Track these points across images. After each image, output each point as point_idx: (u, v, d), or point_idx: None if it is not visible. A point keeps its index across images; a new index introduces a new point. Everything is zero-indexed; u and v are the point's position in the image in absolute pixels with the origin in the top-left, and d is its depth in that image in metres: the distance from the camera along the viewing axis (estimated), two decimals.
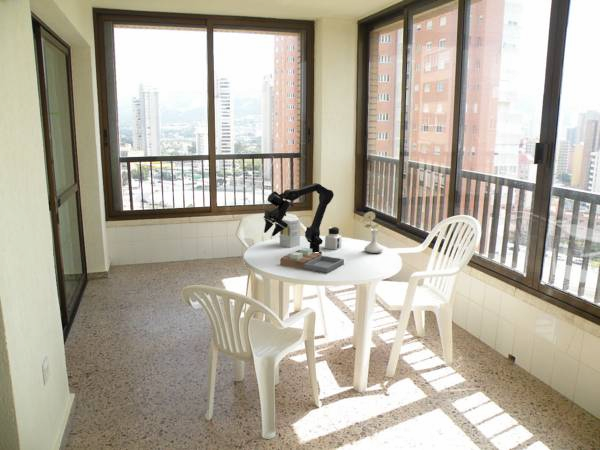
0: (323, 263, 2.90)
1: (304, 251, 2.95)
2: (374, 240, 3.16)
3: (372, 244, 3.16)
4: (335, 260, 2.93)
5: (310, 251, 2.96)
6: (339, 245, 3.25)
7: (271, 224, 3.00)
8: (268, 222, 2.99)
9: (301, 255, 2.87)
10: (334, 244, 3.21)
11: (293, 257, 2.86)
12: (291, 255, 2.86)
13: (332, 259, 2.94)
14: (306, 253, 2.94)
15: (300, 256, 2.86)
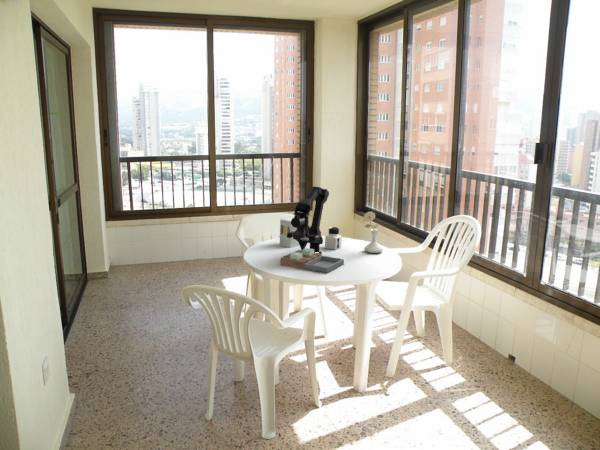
0: (323, 263, 2.90)
1: (306, 251, 2.94)
2: (374, 240, 3.16)
3: (372, 244, 3.16)
4: (335, 260, 2.93)
5: (312, 251, 2.95)
6: (339, 245, 3.25)
7: None
8: (301, 240, 2.97)
9: (301, 255, 2.87)
10: (334, 244, 3.21)
11: (293, 257, 2.86)
12: (291, 255, 2.86)
13: (332, 259, 2.94)
14: (308, 253, 2.94)
15: (300, 256, 2.86)
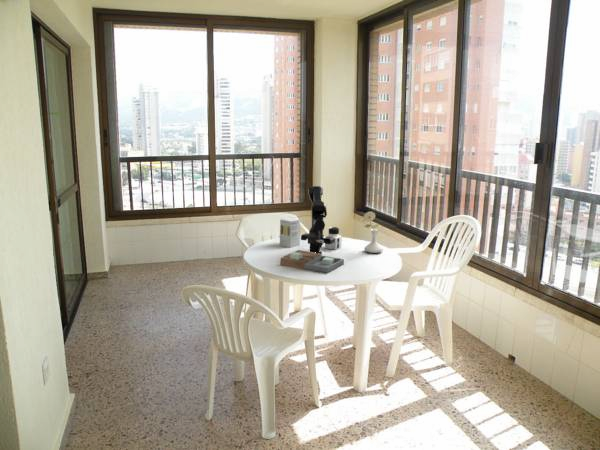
0: None
1: (325, 262, 2.89)
2: (374, 240, 3.16)
3: (372, 244, 3.16)
4: (335, 260, 2.93)
5: None
6: (339, 245, 3.25)
7: (317, 242, 2.94)
8: (315, 243, 2.92)
9: (301, 255, 2.87)
10: (334, 244, 3.21)
11: (293, 257, 2.86)
12: (291, 255, 2.86)
13: None
14: (323, 260, 2.90)
15: (300, 256, 2.86)
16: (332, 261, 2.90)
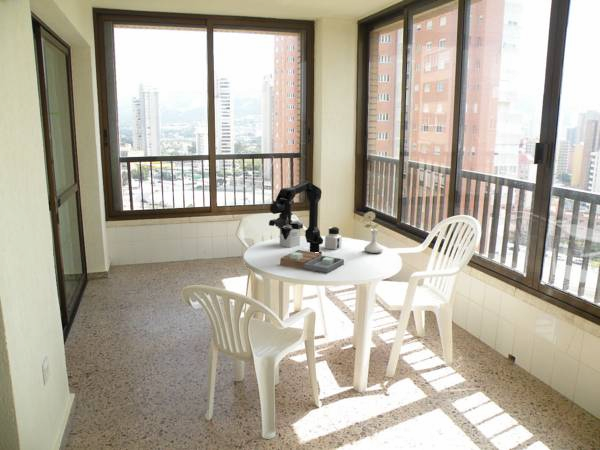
0: None
1: (325, 262, 2.89)
2: (374, 240, 3.16)
3: (372, 244, 3.16)
4: (335, 260, 2.93)
5: None
6: (339, 245, 3.25)
7: (286, 228, 2.90)
8: (284, 228, 2.88)
9: (301, 255, 2.87)
10: (334, 244, 3.21)
11: (293, 257, 2.86)
12: (291, 255, 2.86)
13: None
14: (323, 260, 2.90)
15: (300, 256, 2.86)
16: (332, 261, 2.90)
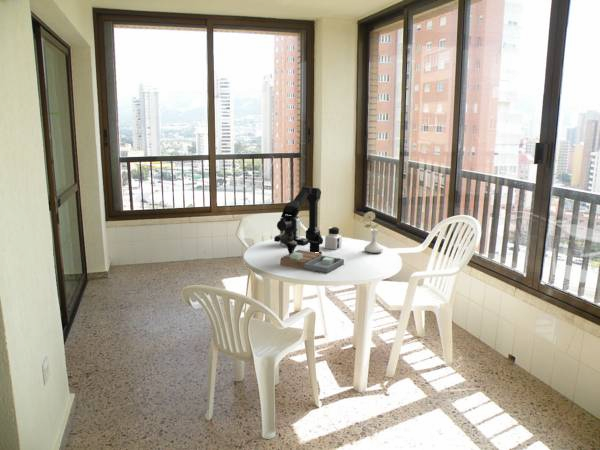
0: None
1: (325, 262, 2.89)
2: (374, 240, 3.16)
3: (372, 244, 3.16)
4: (335, 260, 2.93)
5: None
6: (339, 245, 3.25)
7: (291, 243, 2.90)
8: (289, 244, 2.88)
9: (301, 255, 2.87)
10: (334, 244, 3.21)
11: (293, 257, 2.86)
12: (291, 255, 2.86)
13: None
14: (323, 260, 2.90)
15: (300, 256, 2.86)
16: (332, 261, 2.90)
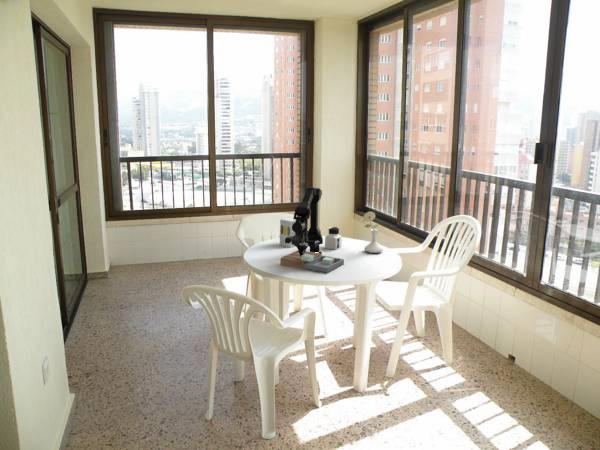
0: None
1: (325, 262, 2.89)
2: (374, 240, 3.16)
3: (372, 244, 3.16)
4: (335, 260, 2.93)
5: None
6: (339, 245, 3.25)
7: (302, 245, 2.86)
8: None
9: (312, 257, 2.84)
10: (334, 244, 3.21)
11: (304, 259, 2.83)
12: (302, 257, 2.83)
13: None
14: (323, 260, 2.90)
15: (311, 258, 2.83)
16: (332, 261, 2.90)
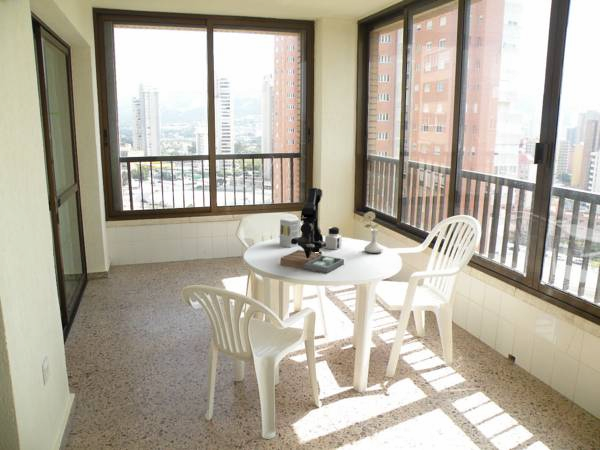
0: None
1: (325, 262, 2.89)
2: (374, 240, 3.16)
3: (372, 244, 3.16)
4: (335, 260, 2.93)
5: None
6: (339, 245, 3.25)
7: None
8: (306, 247, 2.83)
9: None
10: (334, 244, 3.21)
11: None
12: None
13: None
14: (323, 260, 2.90)
15: None
16: (332, 261, 2.90)
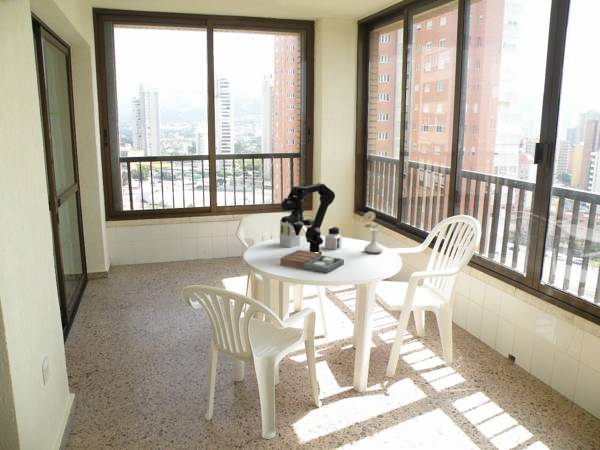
0: None
1: (325, 262, 2.89)
2: (374, 240, 3.16)
3: (372, 244, 3.16)
4: (335, 260, 2.93)
5: None
6: (339, 245, 3.25)
7: None
8: (295, 225, 2.99)
9: None
10: (334, 244, 3.21)
11: None
12: None
13: None
14: (323, 260, 2.90)
15: None
16: (332, 261, 2.90)
